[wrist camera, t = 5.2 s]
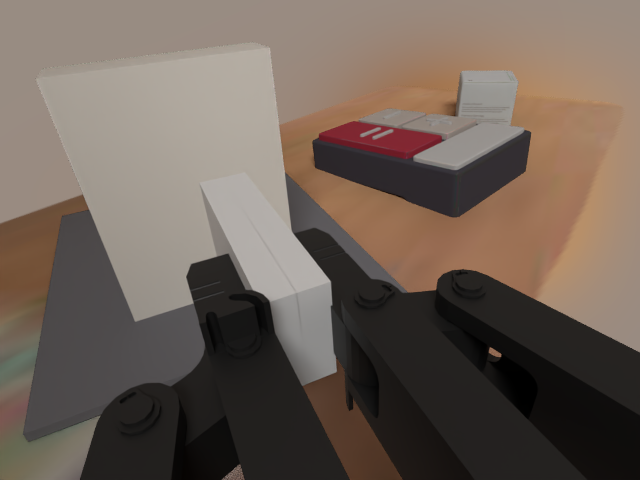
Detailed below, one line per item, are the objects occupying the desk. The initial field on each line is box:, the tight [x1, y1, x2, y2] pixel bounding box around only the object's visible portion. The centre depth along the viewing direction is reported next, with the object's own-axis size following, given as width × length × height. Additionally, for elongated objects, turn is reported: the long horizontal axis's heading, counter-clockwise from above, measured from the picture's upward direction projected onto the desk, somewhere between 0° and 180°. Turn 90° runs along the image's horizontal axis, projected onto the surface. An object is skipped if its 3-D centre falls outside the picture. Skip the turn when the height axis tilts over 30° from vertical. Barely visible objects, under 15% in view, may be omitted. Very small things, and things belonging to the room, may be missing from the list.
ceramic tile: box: [36, 42, 292, 322], centre depth 21 cm, size 9×3×12 cm, turn 114°
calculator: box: [313, 109, 531, 217], centre depth 36 cm, size 11×4×15 cm
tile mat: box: [23, 173, 408, 442], centre depth 27 cm, size 18×20×1 cm
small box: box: [456, 71, 519, 126], centre depth 46 cm, size 6×6×5 cm
